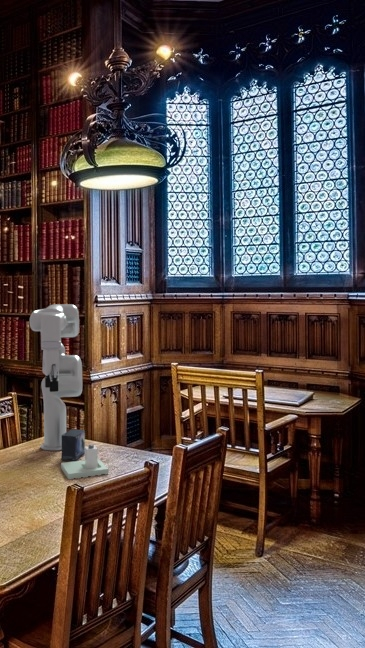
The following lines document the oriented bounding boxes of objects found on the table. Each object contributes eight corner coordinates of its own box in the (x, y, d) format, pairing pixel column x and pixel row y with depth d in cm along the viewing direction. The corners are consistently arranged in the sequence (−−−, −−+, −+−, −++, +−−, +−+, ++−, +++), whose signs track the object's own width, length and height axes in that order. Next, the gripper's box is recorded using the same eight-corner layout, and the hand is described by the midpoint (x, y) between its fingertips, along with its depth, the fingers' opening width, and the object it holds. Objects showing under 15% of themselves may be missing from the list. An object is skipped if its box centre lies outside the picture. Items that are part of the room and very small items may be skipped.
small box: (75, 461, 223) (75, 436, 222) (60, 460, 224) (60, 435, 224) (85, 454, 233) (85, 429, 233) (71, 453, 235) (70, 428, 234)
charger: (84, 470, 213) (84, 444, 212) (95, 468, 214) (95, 443, 214) (87, 473, 209) (87, 447, 208) (97, 472, 211) (97, 446, 210)
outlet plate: (61, 468, 215) (60, 463, 215) (98, 463, 221) (98, 458, 221) (68, 479, 202) (68, 474, 202) (108, 474, 208) (108, 468, 208)
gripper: (37, 343, 221) (38, 386, 222) (45, 348, 205) (45, 393, 206) (56, 343, 224) (57, 385, 225) (65, 347, 208) (65, 392, 209)
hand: (51, 389), depth 216 cm, fingers open, 9 cm apart
